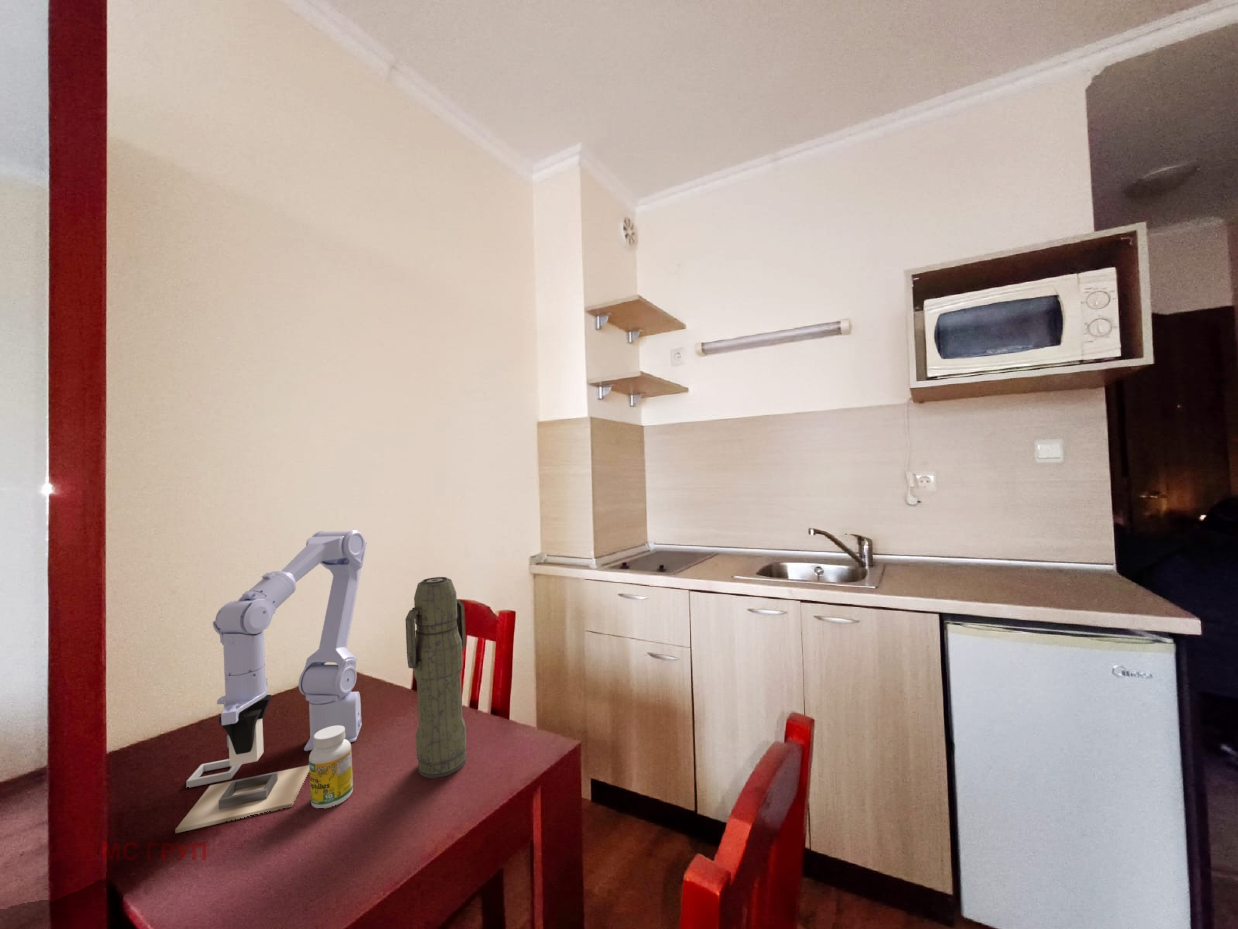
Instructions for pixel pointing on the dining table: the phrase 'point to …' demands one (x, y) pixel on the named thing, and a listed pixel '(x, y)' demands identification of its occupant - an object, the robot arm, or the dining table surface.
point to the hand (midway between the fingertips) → (247, 747)
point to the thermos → (438, 675)
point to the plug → (254, 753)
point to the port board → (245, 798)
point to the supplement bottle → (330, 768)
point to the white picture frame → (197, 780)
